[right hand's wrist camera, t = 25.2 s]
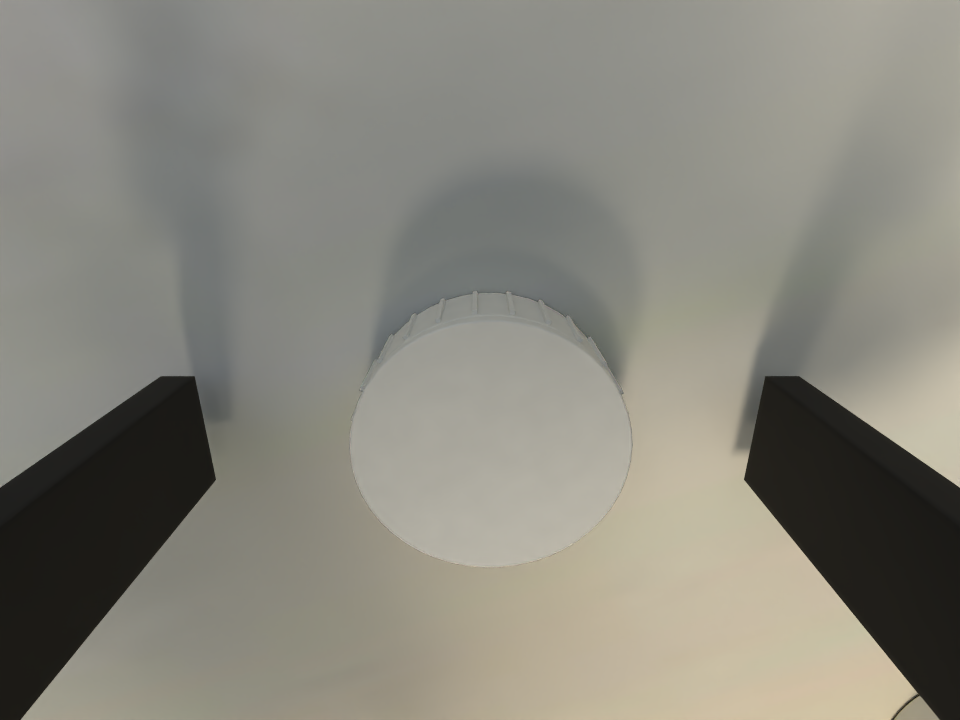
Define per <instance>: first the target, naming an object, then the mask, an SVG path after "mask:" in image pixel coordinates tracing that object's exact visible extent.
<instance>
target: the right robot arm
mask: <svg viewBox="0 0 960 720" xmlns="http://www.w3.org/2000/svg"><path fill="white" fill-rule="evenodd" d="M215 480H216V478H215V473H214V468H213V463H212V458H211V453H210V449H209V444H208V439H207V434H206V429H205V424H204V420H203V415H202V410H201V405H200V400H199V395H198V391H197V386H196V381H195V376H161V377H159V378H158V379H156V380H155V381H154V382H152V383H151V384H149V385H148V386H146V387H145V388H143V389H142V390H141V391H139V392H138V393H136V394H135V395H133V396H132V397H130V398H129V399H128V400H126V401H125V402H123V403H122V404H120V405H119V406H117V407H116V408H115V409H113V410H112V411H110V412H109V413H107V414H106V415H104V416H103V417H102V418H100V419H99V420H97V421H96V422H94V423H93V424H91V425H90V426H89V427H87V428H86V429H84V430H83V431H81V432H80V433H79V434H77V435H76V436H74V437H73V438H71V439H70V440H68V441H67V442H66V443H64V444H63V445H61V446H60V447H58V448H57V449H55V450H54V451H53V452H51V453H50V454H48V455H47V456H45V457H44V458H42V459H41V460H40V461H38V462H37V463H35V464H34V465H32V466H31V467H29V468H28V469H27V470H25V471H24V472H22V473H21V474H19V475H18V476H16V477H15V478H14V479H12V480H11V481H9V482H8V483H6V484H5V485H3V486H2V487H1V488H0V720H21V718H22V717H23V716H24V715H25V713H26V712H27V711H28V710H29V709H30V707H31V706H32V705H33V704H34V702H35V701H36V700H37V699H38V698H39V696H40V695H41V694H42V693H43V691H44V690H45V689H46V688H47V686H48V685H49V684H50V683H51V682H52V680H53V679H54V678H55V677H56V675H57V674H58V673H59V672H60V671H61V669H62V668H63V667H64V666H65V664H66V663H67V662H68V661H69V659H70V658H71V657H72V656H73V655H74V653H75V652H76V651H77V650H78V648H79V647H80V646H81V645H82V643H83V642H84V641H85V640H86V639H87V637H88V636H89V635H90V634H91V632H92V631H93V630H94V629H95V628H96V626H97V625H98V624H99V623H100V621H101V620H102V619H103V618H104V616H105V615H106V614H107V613H108V612H109V610H110V609H111V608H112V607H113V605H114V604H115V603H116V602H117V600H118V599H119V598H120V597H121V596H122V594H123V593H124V592H125V591H126V589H127V588H128V587H129V586H130V585H131V583H132V582H133V581H134V580H135V578H136V577H137V576H138V575H139V573H140V572H141V571H142V570H143V569H144V567H145V566H146V565H147V564H148V562H149V561H150V560H151V559H152V558H153V556H154V555H155V554H156V553H157V551H158V550H159V549H160V548H161V546H162V545H163V544H164V543H165V542H166V540H167V539H168V538H169V537H170V535H171V534H172V533H173V532H174V530H175V529H176V528H177V527H178V526H179V524H180V523H181V522H182V521H183V519H184V518H185V517H186V516H187V515H188V513H189V512H190V511H191V510H192V508H193V507H194V506H195V505H196V503H197V502H198V501H199V500H200V499H201V497H202V496H203V495H204V494H205V492H206V491H207V490H208V489H209V488H210V486H211V485H212V484H213V483H214V481H215ZM744 480H745V481H746V483H747V484H748V485H749V486H750V487H751V489H752V490H753V491H754V492H755V494H756V495H757V496H758V497H759V499H760V500H761V501H762V502H763V503H764V505H765V506H766V507H767V508H768V510H769V511H770V512H771V513H772V515H773V516H774V517H775V518H776V519H777V521H778V522H779V523H780V524H781V526H782V527H783V528H784V529H785V530H786V532H787V533H788V534H789V535H790V537H791V538H792V539H793V540H794V542H795V543H796V544H797V545H798V546H799V548H800V549H801V550H802V551H803V553H804V554H805V555H806V556H807V558H808V559H809V560H810V561H811V562H812V564H813V565H814V566H815V567H816V569H817V570H818V571H819V572H820V573H821V575H822V576H823V577H824V578H825V580H826V581H827V582H828V583H829V585H830V586H831V587H832V588H833V589H834V591H835V592H836V593H837V594H838V596H839V597H840V598H841V599H842V600H843V602H844V603H845V604H846V605H847V607H848V608H849V609H850V610H851V612H852V613H853V614H854V615H855V616H856V618H857V619H858V620H859V621H860V623H861V624H862V625H863V626H864V628H865V629H866V630H867V631H868V632H869V634H870V635H871V636H872V637H873V639H874V640H875V641H876V642H877V643H878V645H879V646H880V647H881V648H882V650H883V651H884V652H885V653H886V655H887V656H888V657H889V658H890V659H891V661H892V662H893V663H894V664H895V666H896V667H897V668H898V669H899V670H900V672H901V673H902V674H903V675H904V677H905V678H906V679H907V680H908V682H909V683H910V684H911V685H912V686H913V688H914V689H915V690H916V691H917V693H918V694H919V695H920V696H921V698H922V699H923V700H924V701H925V702H926V704H927V705H928V706H929V707H930V709H931V710H932V711H933V712H934V713H935V715H936V716H937V717H938V718H939V720H960V488H959V487H958V486H957V485H955V484H954V483H952V482H951V481H949V480H948V479H946V478H945V477H944V476H942V475H941V474H939V473H938V472H936V471H935V470H933V469H932V468H931V467H929V466H928V465H926V464H925V463H923V462H922V461H920V460H919V459H918V458H916V457H915V456H913V455H912V454H910V453H909V452H907V451H906V450H905V449H903V448H902V447H900V446H899V445H897V444H896V443H894V442H893V441H892V440H890V439H889V438H887V437H886V436H884V435H883V434H881V433H880V432H879V431H877V430H876V429H874V428H873V427H871V426H870V425H869V424H867V423H866V422H864V421H863V420H861V419H860V418H858V417H857V416H856V415H854V414H853V413H851V412H850V411H848V410H847V409H845V408H844V407H843V406H841V405H840V404H838V403H837V402H835V401H834V400H832V399H831V398H830V397H828V396H827V395H825V394H824V393H822V392H821V391H819V390H818V389H817V388H815V387H814V386H812V385H811V384H809V383H808V382H806V381H805V380H804V379H802V378H801V377H799V376H765V381H764V386H763V391H762V395H761V400H760V405H759V410H758V415H757V420H756V424H755V429H754V434H753V439H752V444H751V449H750V454H749V458H748V463H747V468H746V473H745V478H744Z"/></svg>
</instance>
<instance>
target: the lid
mask: <svg viewBox="0 0 960 720" xmlns="http://www.w3.org/2000/svg"><path fill="white" fill-rule="evenodd" d="M359 390H360V391H362V394H361V396H360V398H359V400H358V403H357V406H356V409H355V411H354V413H353V415H352V417H351V421H352V423H351V429H350V442H349V451H350V459H351V466H352V470H353V474H354V477H355V481H356V483H357V485H358V488H359V490H360V492H361V495H362V497H363V498H364V500H365V502H366V503H367V505H368V507H369V508H370V510H371V511H372V512H373V513H374V515H375V516H376V517H377V518H378V520H379V521H380V522H381V523H382V524H383V525H384V526H385V527H386V528H387V529H388V530H389V531H390V532H391V533H393V534H394V535H395V536H397V537H398V538H399V539H401V540H402V541H403V542H405V543H406V544H408V545H410V546H411V547H413V548H415V549H416V550H418V551H420V552H422V553H425V554H427V555H429V556H431V557H434V558H437V559H440V560H443V561H446V562H449V563H454V564H459V565H464V566H472V567H483V568H488V567H508V566H516V565H521V564H525V563H530V562H534V561H537V560H540V559H543V558H546V557H549V556H551V555H553V554H555V553H557V552H559V551H562V550H564V549H565V548H567V547H569V546H570V545H572V544H574V543H575V542H577V541H578V540H580V539H581V538H582V537H584V536H585V535H586V534H587V533H589V532H590V531H591V530H592V529H593V528H594V527H595V526H596V525H597V524H598V523H599V522H600V521H601V520H602V519H603V518H604V517H605V515H606V514H607V513H608V511H609V510H610V509H611V508H612V506H613V505H614V503H615V501H616V499H617V498H618V496H619V494H620V493H621V490H622V488H623V485H624V483H625V480H626V478H627V474H628V470H629V466H630V462H631V454H632V429H631V424H630V419H629V414H628V411H627V408H626V405H625V403H624V400H623V397H622V394H623V391H622V389H621V387H620V385H619V384H618V382H617V380H616V379H615V377H614V375H613V374H612V372H611V370H610V369H609V367H608V364H607V362H606V361H605V359H604V357H603V356H602V354H601V352H600V351H599V349H598V348H597V346H596V344H595V343H594V341H593V339H592V338H591V337H589V338H587V337H586V336H585V335H584V334H583V333H582V332H581V331H580V330H579V329H578V328H577V327H576V326H575V324H574V322H573V320H572V319H571V317H570V316H568V315H567V316H566V317H564V316H563V315H562V314H560V313H559V312H557V311H555V310H553V309H552V308H550V307H548V306H546V305H545V304H544V302H543V301H542V300H540V299H539V300H538V302H536V301H534V300H531V299H528V298H524V297H520V296H516V295H512V294H511V292H509V291H506V294H502V293H478V292H477V291H473V294H470V295H463V296H459V297H456V298H452V299H448V300H445V298H443V299H440V302H439V303H438V304H436V305H434V306H431V307H429V308H428V309H426V310H424V311H423V312H421V313H419V314H418V315H417V314H416V313H414V314H412V316H411V318H410V320H409V322H407V323H406V324H405V325H404V326H403V327H402V328H401V329H400V330H399V331H398V332H397V333H396V334H395V335H393V334H391V335H390V336H389V338H388V339H387V341H386V343H385V345H384V347H383V349H382V351H381V353H380V355H379V357H378V359H377V360H376V359H375V360H374V362H373V364H372V366H371V367H370V369H369V371H368V373H367V375H366V377H365V379H364V381H363V383H362V385H361V387H360V389H359Z"/></svg>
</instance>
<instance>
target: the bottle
mask: <svg viewBox="0 0 960 720" xmlns="http://www.w3.org/2000/svg"><path fill="white" fill-rule="evenodd" d="M894 720H939V718H938V717H937V716H936V715H935V713H934V712H933V711H932V710H931V709H930V707H929V706H928V705H927V704H926V702H925V701H924V700H923V699H922V698H921V696H918V697H917V698H915V699H914V700H913V701H911V702H910V703H909V704H908V705H907V706H905V708H904V709H903V710H902V711H901V712H900V713H899V714H898V715H897V716H896V718H895V719H894Z"/></svg>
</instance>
